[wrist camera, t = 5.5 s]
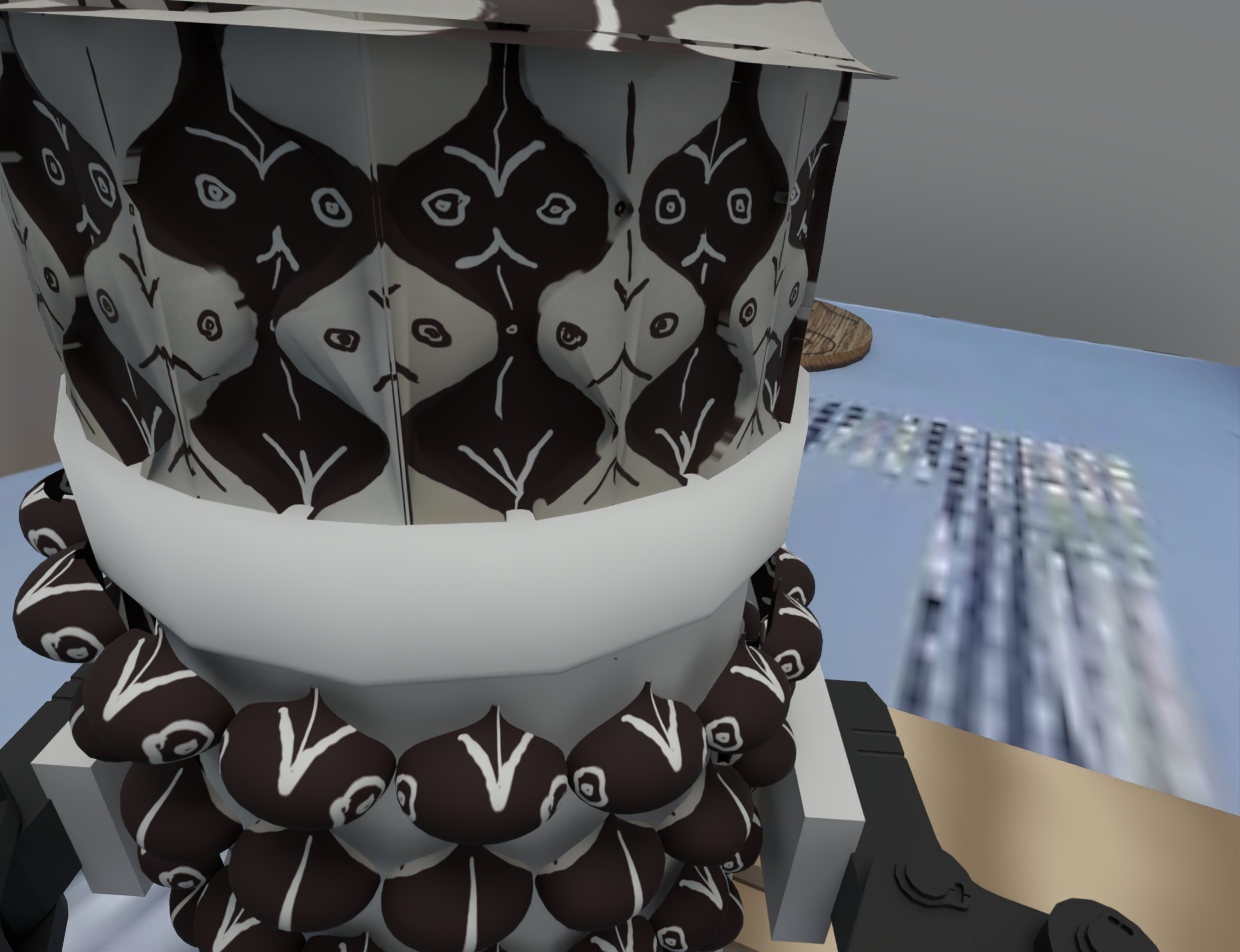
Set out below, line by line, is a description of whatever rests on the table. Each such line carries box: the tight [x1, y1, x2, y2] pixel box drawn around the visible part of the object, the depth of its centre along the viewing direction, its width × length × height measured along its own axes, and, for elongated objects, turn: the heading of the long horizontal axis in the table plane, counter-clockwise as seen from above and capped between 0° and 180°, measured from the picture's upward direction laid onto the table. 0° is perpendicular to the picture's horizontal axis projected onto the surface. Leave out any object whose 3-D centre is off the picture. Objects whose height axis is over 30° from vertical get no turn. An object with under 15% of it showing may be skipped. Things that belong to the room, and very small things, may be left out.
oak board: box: [722, 707, 1240, 952], centre depth 24 cm, size 28×11×3 cm, turn 68°
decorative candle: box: [0, 0, 901, 952], centre depth 12 cm, size 9×9×25 cm
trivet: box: [800, 299, 873, 372], centre depth 79 cm, size 25×25×2 cm
